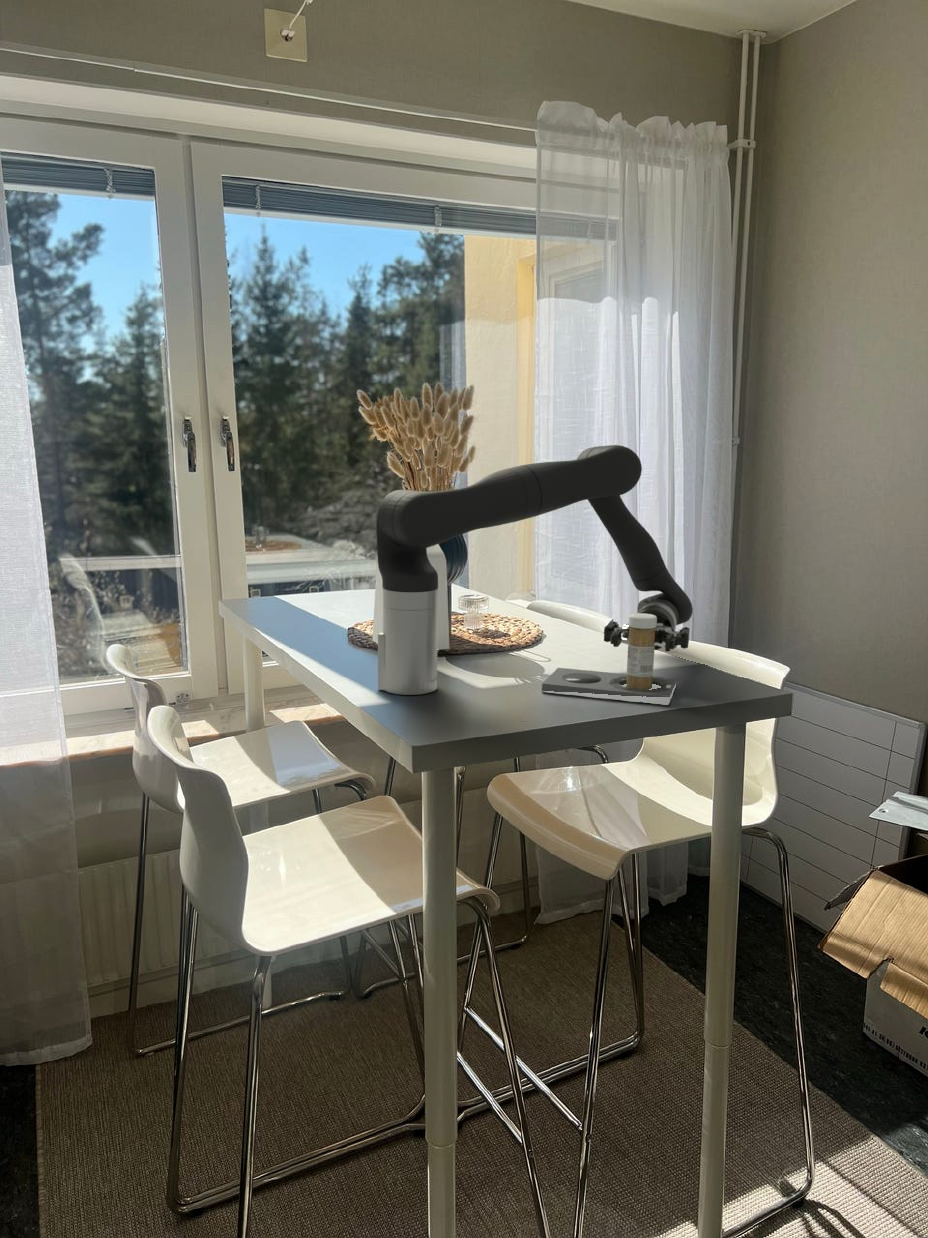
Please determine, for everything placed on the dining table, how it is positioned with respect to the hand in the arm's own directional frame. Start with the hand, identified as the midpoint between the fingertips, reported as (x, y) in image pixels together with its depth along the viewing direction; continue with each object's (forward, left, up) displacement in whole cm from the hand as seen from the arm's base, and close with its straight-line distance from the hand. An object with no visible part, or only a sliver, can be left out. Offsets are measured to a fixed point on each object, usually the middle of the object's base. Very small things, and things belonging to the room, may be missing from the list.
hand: (641, 643), depth 151 cm
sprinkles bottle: (0, +2, -9) cm, 9 cm away
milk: (-49, +20, -9) cm, 54 cm away
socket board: (-5, +2, -9) cm, 10 cm away
